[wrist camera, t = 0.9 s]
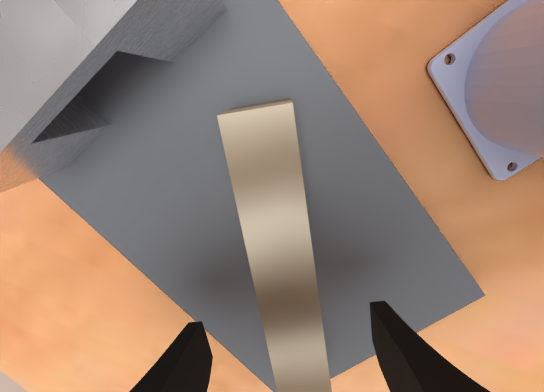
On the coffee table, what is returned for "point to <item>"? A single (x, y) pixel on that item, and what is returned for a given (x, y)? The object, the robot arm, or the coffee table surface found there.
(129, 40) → the grey rectangular block
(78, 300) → the coffee table surface
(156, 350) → the coffee table surface
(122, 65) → the board
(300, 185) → the slat
